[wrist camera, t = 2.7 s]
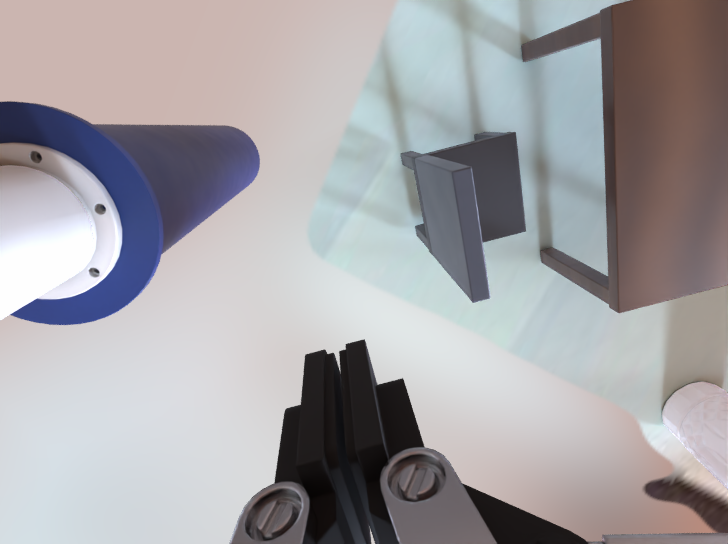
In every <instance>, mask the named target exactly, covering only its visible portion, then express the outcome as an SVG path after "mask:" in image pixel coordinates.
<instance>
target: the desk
mask: <svg viewBox="0 0 728 544" xmlns="http://www.w3.org/2000/svg"><path fill="white" fill-rule="evenodd" d="M598 39H601V57H602V89H603V121H604V153H605V186H606V218H607V250H608V276H606V275H604V274H602V273H600V272H599V271H597V270H595V269H593V268H591V267H589V266H587V265H585V264H583V263H582V262H580V261H578V260H576V259H574V258H572V257H570V256H568V255H566V254H564V253H563V252H561V251H559V250H557V249H555V248H553V247H552V248H548V249H544V250H541V251H540V252H541V262H542V263H543V264H545V265H546V266H548V267H550V268H551V269H553V270H554V271H556V272H558V273H559V274H561V275H562V276H564V277H566V278H567V279H569V280H571V281H572V282H574V283H575V284H577V285H579V286H580V287H582V288H583V289H585V290H587V291H588V292H590V293H591V294H593V295H595V296H596V297H598V298H599V299H601V300H603V301H604V302H606V303H607V304H609V307H610V308H611V309H613V310H614V311H616V312H617V313H622V312H626V311H630V310H633V309H637V308H641V307H645V306H649V305H653V304H656V303H660V302H664V301H668V300H672V299H676V298H679V297H683V296H687V295H691V294H695V293H699V292H702V291H706V290H710V289H714V288H718V287H722V286H725V285H728V0H630V1H627V2H623V3H619V4H615V5H611V6H609V7H607V8H604V9H602V10H601V11H600V13H598V14H596V15H593V16H591V17H588V18H586V19H584V20H581V21H579V22H576V23H574V24H571V25H569V26H567V27H564V28H562V29H559V30H557V31H554V32H552V33H549V34H547V35H545V36H542V37H540V38H537V39H535V40H532V41H530V42H528V43H525V44H523V45H522V57H523V62H526V61H530V60H534V59H538V58H541V57H544V56H547V55H550V54H553V53H557V52H560V51H563V50H566V49H569V48H572V47H575V46H579V45H582V44H585V43H588V42H591V41H594V40H598Z"/></svg>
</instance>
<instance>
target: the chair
mask: <svg viewBox="0 0 728 544" xmlns="http://www.w3.org/2000/svg"><path fill="white" fill-rule="evenodd" d="M474 137H475V141H472V142H468V143H465V144H461V145H457V146H453V147H449V148H445V149H441V150H437V151H434V152H430V153H426V154H420V153H416V152H413V151H409V152H405V153H401V159H402V164H403V165H404V166H406V167H408V168H410V169H412V170H414V174H415V180H416V185H417V190H418V195H419V200H420V205H421V211H422V216H423V221H424V224H421V225H417V226H415V229H416V234H417V236H418V237H419V239H420V240H421V241H422V242H423V243H424V244H425V246H426V247H427V248H428V249H429V252H430V253H431V254H432V255H433V256H434V257H435V258H436V260H437V261H438V262H439V263H440V264H441V266H442V267H443V268H444V269H445V270H446V271H447V273H448V274H449V275H450V276H451V277H452V279H453V280H454V281H455V282H456V283H457V284H458V286H459V287H460V288H461V289H462V290H463V292H464V293H465V294H466V295H467V296H468V297H469V299H470V300H471V301H472V302H473V303H475V302H478V301H482V300H486V299H490V291H489V284H488V277H487V270H486V263H485V256H484V249H483V242H487V241H491V240H494V239H498V238H502V237H506V236H510V235H514V234H518V233H521V232H525V231H526V226H525V217H524V207H523V197H522V188H521V178H520V168H519V158H518V149H517V139H516V132H507V133H498V132H483V133H479V134H475V135H474Z"/></svg>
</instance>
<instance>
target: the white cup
mask: <svg viewBox="0 0 728 544" xmlns="http://www.w3.org/2000/svg"><path fill="white" fill-rule="evenodd" d="M662 418H663V424H664V425H665V426H666V427H667V428H668V429H669V430H670V431H671V432H672V433H673V434H674V435H675V436H676V437H677V438H678V439H679V440H680V441H681V442H682V443H683V445H684V446H685V448H686V449H687V450H688V451H689V452H691V453H692V455H693V456H694V457H695V458H696V459H697V460H698V461H699V462H700V463H702V464H703V465H704V467H705V468H706V469H707V470H708V471H709V472H710V473H711V474H712V475H713V476H714V477H716V478H717V479H718V480H719V481H720V482H721V483H722V484H723V485H724V486H725V487H726V488H727V489H728V392H726V391H725V390H723V389H722V388H720V387H718V386H717V385H715V384H711V383H707V382H704V381H702V382H696V383H691V384H688V385H686V386H684V387H682V388H681V389H679V390H677V391H676V392H675V393H674V394H673V395H672V396H671V397H670V398H669V399H668V400H667V402H666V404H665V406H664V409H663V412H662Z"/></svg>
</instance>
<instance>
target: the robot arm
mask: <svg viewBox="0 0 728 544" xmlns="http://www.w3.org/2000/svg"><path fill="white" fill-rule="evenodd" d="M40 155H41V157H42V158H41V157H40ZM103 205H104V206H105V208H106V210H105V209H104V208H103ZM121 246H122V226H121V221H120V216H119V213H118V211H117V208H116V206H115V203H114V201H113V199H112V198H111V196H110V194H109V193H108V191H107V190H106V188H105V187H104V186H103V184H102V183H101V182H100V181H99V180H98V179H97V178H96V176H95V175H94V174H93V173H91V172H90V171H89V170H88V169H87V168H85V167H84V166H83V165H82V164H81V163H79V162H77V161H76V160H74V159H72V158H71V157H69V156H67V155H66V154H64V153H61V152H59V151H56V150H54V149H51V148H49V147H45V146H41V145H36V144H32V143H2V144H0V320H1V319H3V318H5V317H6V316H8V315H10V314H11V313H13V312H15V311H16V310H18V309H20V308H21V307H23V306H25V305H26V304H28V303H30V302H31V301H33V300H35V299H36V298H38V299H61V298H67V297H72V296H75V295H78V294H81V293H83V292H85V291H87V290H89V289H90V288H92V287H94V286H95V285H97V284H98V283H99V282H100V281H102V280H103V279H104V278H106V276H107V275H108V274H109V273H110V271H111V270H112V269H113V268H114V266H115V264H116V262H117V260H118V258H119V255H120V250H121ZM97 269H98V270H99V271H98V270H97ZM339 354H340V370H341V374H340V371H339V367H338V364H337V361H336V358H335V355H334V353H331V354H327V352H326V350H321V351H318V352H314V353H310V354H306V355H305V363H304V375H303V387H302V398H301V405H298V406H294V407H290V408H287V409H286V410H285V413H284V420H283V427H282V434H281V441H280V449H279V455H278V462H277V469H276V477H275V483H274V484H272V485H270V486H268V487H266V488H264V489H262V490H261V491H260V492H258V493H257V494H256V495H255V496H253V497H252V498H251V500H250V501H249V502H248V503H247V504H246V505H245V507H244V508H243V510H242V512H241V514H240V516H239V519H238V521H237V524H236V527H235V529H234V532H233V535H232V538H231V541H230V543H229V544H371V536H370V529H371V532H372V535H373V538H374V541H375V544H728V534H725V533H681V534H680V533H679V534H621V535H602V539H603V542H586V541H585V540H584V539H583V538H581V537H579V536H578V535H576V534H574V533H573V532H571V531H569V530H567V529H564V528H562V527H560V526H557V525H555V524H553V523H551V522H549V521H546V520H544V519H542V518H539V517H537V516H535V515H533V514H530V513H528V512H526V511H524V510H521V509H519V508H517V507H515V506H512V505H510V504H508V503H505V502H503V501H501V500H498V499H496V498H494V497H492V496H489V495H487V494H485V493H483V492H480V491H478V490H476V489H474V488H471V487H469V486H467V485H464V484H462V483H461V481H460V479H459V477H458V476H457V474H456V472H455V471H454V469H453V467H452V466H451V464H450V462H449V461H448V460H447V459H446V458H445V456H444V455H442V454H441V453H439V452H437V451H436V450H433V449H429V448H425V447H424V444H423V441H422V438H421V435H420V431H419V429H418V425H417V422H416V418H415V415H414V412H413V409H412V405H411V402H410V399H409V396H408V393H407V389H406V386H405V383H404V380H403V379H398V380H395V381H391V382H387V383H383V384H379V385H377V382H376V379H375V375H374V371H373V368H372V364H371V360H370V357H369V353H368V349H367V346H366V342H365V340H360V341H356V342H352V343H348V344H346V350H342V351H340V352H339Z"/></svg>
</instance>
